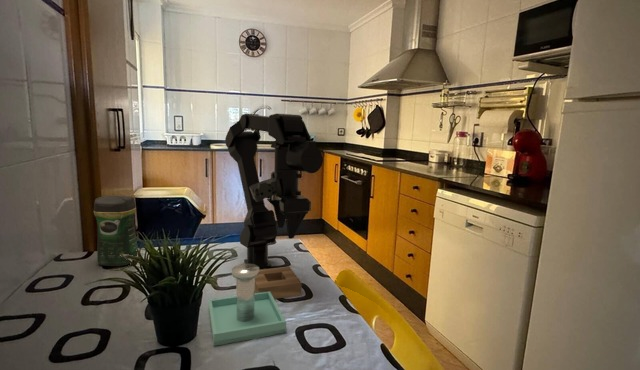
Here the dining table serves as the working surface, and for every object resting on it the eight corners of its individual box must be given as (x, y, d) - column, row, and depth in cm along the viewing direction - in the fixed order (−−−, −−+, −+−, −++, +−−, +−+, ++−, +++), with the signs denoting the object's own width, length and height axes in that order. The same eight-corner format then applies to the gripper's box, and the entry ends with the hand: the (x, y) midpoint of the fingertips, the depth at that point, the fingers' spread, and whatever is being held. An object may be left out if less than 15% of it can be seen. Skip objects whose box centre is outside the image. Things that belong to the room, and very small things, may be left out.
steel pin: (230, 312, 70) (230, 265, 69) (256, 308, 72) (256, 262, 71) (233, 325, 66) (233, 275, 64) (261, 321, 67) (261, 272, 66)
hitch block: (250, 282, 86) (250, 271, 86) (289, 277, 90) (289, 266, 89) (258, 301, 77) (258, 288, 76) (301, 294, 80) (301, 282, 80)
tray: (208, 309, 73) (208, 299, 72) (269, 300, 77) (269, 291, 77) (213, 346, 61) (213, 334, 60) (285, 332, 65) (286, 321, 65)
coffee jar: (143, 256, 101) (140, 193, 98) (129, 267, 93) (125, 199, 90) (109, 256, 100) (104, 192, 97) (92, 266, 92) (87, 198, 89)
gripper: (245, 164, 87) (245, 224, 90) (260, 174, 70) (260, 248, 73) (288, 164, 91) (287, 222, 94) (312, 173, 74) (310, 243, 77)
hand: (285, 232), depth 84 cm, fingers open, 9 cm apart
